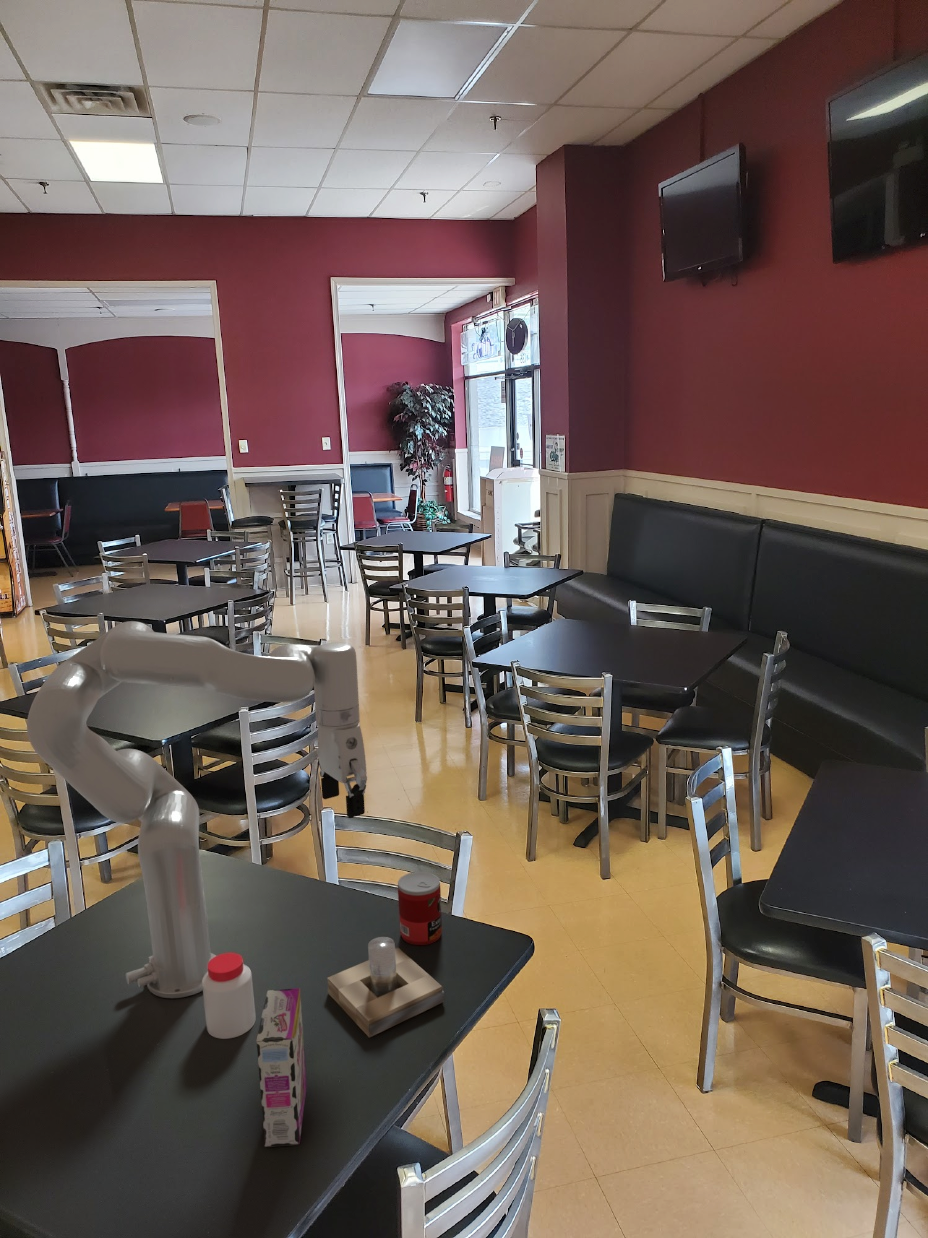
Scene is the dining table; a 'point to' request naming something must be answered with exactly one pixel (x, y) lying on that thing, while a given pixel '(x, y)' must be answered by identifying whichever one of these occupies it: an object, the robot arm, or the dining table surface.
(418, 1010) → the frame
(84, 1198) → the dining table surface
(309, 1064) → the dining table surface
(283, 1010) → the candy bar box
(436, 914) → the canned food
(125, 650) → the robot arm
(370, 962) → the frosted glass cylinder
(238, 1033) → the pill bottle
